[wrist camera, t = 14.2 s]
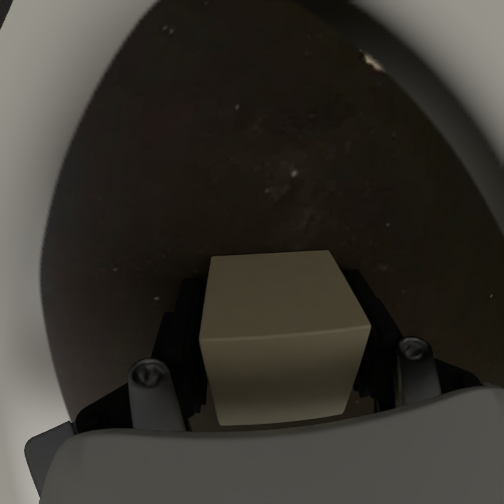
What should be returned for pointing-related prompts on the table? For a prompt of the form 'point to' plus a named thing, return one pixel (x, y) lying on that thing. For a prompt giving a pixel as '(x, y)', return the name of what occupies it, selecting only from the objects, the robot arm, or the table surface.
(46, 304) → the table surface
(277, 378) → the cream block
